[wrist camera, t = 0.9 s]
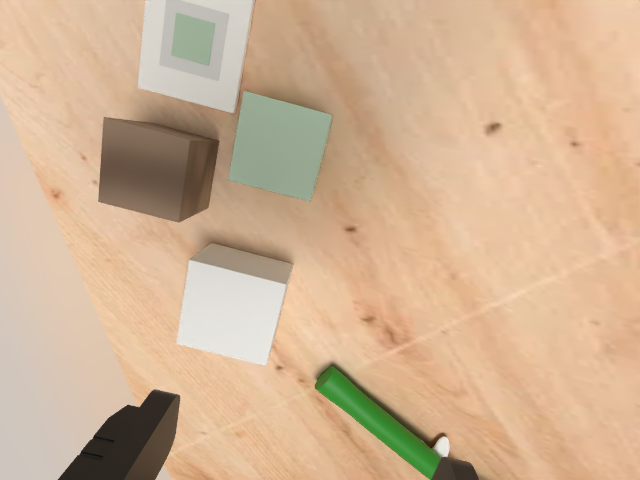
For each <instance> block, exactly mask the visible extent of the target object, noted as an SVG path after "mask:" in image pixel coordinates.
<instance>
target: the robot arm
mask: <svg viewBox="0 0 640 480" xmlns="http://www.w3.org/2000/svg"><path fill="white" fill-rule="evenodd" d="M179 404H180V395H177V394H173V393H169V392H164V391H160V390H153V391H152V392H151V393H150V394H149V395H148V397H147V398H146V399H145V401H144V402H143V403H142V405H141V406H140V407H135V406H130V405H127V406H125V407H124V408H122V409H121V410H119V411H118V412H117V413H115V414H114V415H112V416H111V417H109V418H108V419H107V421H106V422H105V423H104V424H103V425H102V427H101V428H100V429H99V430H98V432H97V433H96V434H95V435H94V437H93V439H92V440H90V441H89V442H88V444H87V445H86V446H85V447H84V448H83V450H82V451H81V453H80V455H78V456H77V457H76V458H75V459H74V461H73V462H72V463H71V464H70V465H69V467H68V468H67V469H66V470H65V472H64V473H63V474H62V475H61V476H60V478H59V479H58V480H155V479H156V477H157V475H158V473H159V471H160V470H161V468H162V466H163V464H164V462H165V460H166V458H167V456H168V454H169V452H170V450H171V447H172V444H173V441H174V438H175V434H176V427H177V419H178V412H179ZM431 480H479V479H478V476H477V474H476V472H475V469H474V467H473V466H472V464H471V463H469V462H466V461H462V460H457V459H453V458H448V457H442V458H441V460H440V461H439V464H438V466H437V468H436V470H435V472H434V474H433V476H432V479H431Z"/></svg>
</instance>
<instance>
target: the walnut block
mask: <svg viewBox="0 0 640 480" xmlns="http://www.w3.org/2000/svg"><path fill="white" fill-rule="evenodd" d="M218 145H219V141H216V140H213V139H209V138H205V137H202V136H198V135H194V134H190V133H187V132H183V131H179V130H175V129H172V128H168V127H164V126H160V125H157V124H153V123H147V122H139V121H131V120H123V119H114V118H106V117H104V122H103V137H102V153H101V169H100V184H99V200H98V202H101V203H105V204H109V205H113V206H117V207H121V208H125V209H128V210H132V211H136V212H140V213H144V214H148V215H152V216H155V217H159V218H163V219H167V220H171V221H175V222H181V221H183V220H185V219H187V218H189V217H191V216H193V215H195V214H197V213H199V212H201V211H203V210H205V209H207V208H208V207H209V201H210V195H211V188H212V182H213V176H214V170H215V164H216V158H217V152H218Z"/></svg>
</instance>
